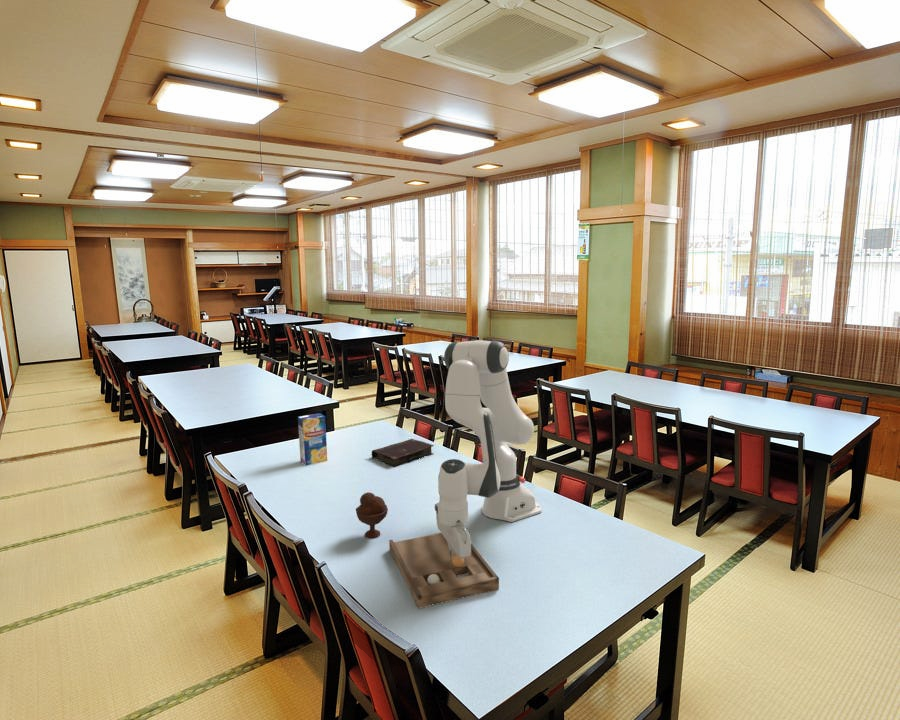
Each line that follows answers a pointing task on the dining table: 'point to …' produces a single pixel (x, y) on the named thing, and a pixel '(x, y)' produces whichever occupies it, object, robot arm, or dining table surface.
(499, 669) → the dining table surface
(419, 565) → the wooden tray
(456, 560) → the ball orange
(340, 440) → the dining table surface
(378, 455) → the diary
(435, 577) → the ball grey
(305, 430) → the beverage box
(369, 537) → the ice cream bowl
